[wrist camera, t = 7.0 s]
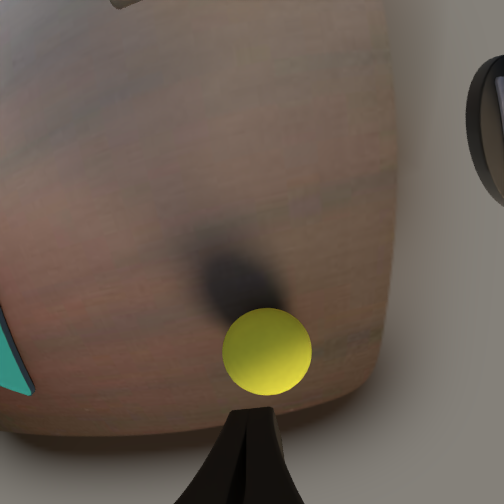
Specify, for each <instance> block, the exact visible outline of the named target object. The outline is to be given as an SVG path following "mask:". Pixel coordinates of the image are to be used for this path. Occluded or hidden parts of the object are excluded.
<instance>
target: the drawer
mask: <svg viewBox="0 0 504 504" xmlns="http://www.w3.org/2000/svg"><path fill="white" fill-rule="evenodd" d="M139 1H142V0H110V2H111V4H112V5H113V6H114V7H115V8H116V9H122V8H124V7H127V6H129V5H131V4H134V3H136V2H139Z"/></svg>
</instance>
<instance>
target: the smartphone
mask: <svg viewBox="0 0 504 504" xmlns="http://www.w3.org/2000/svg"><path fill="white" fill-rule="evenodd" d="M0 386H2V387H4V388H7V389H10V390H13V391H16V392H19V393H22V394H25V395H28V396H32V394H33V393H34V392H35V387H34V385H33V383H32V381H31V379H30V377H29V375H28V373H27V371H26V369H25V367H24V365H23V362H22V360H21V358H20V356H19V353H18V351H17V349H16V347H15V344H14V342H13V339H12V337H11V334H10V332H9V329H8V327H7V324H6V321H5V319H4V316H3V313H2V310H1V308H0Z"/></svg>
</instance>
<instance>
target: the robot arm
mask: <svg viewBox="0 0 504 504" xmlns="http://www.w3.org/2000/svg"><path fill="white" fill-rule="evenodd" d="M495 86H496V91H497V96H498V101H499V107H500V113H501V119H502V126H503V133H504V77H496V79H495ZM174 504H304V502H303V500H302V498H301V496H300V495H299V493H298V491H297V489H296V487H295V485H294V482H293V480H292V478H291V476H290V474H289V471H288V469H287V466H286V464H285V461H284V454H283V446H282V439H281V435H280V432H279V428H278V424H277V420H276V417H275V413H274V409H273V408H271V407H261V408H252V409H242V410H232V411H231V412H230V413H229V415H228V418H227V420H226V422H225V424H224V427H223V429H222V431H221V433H220V435H219V437H218V439H217V441H216V442H215V444H214V446H213V448H212V450H211V451H210V453H209V455H208V457H207V458H206V460H205V462H204V463H203V465H202V467H201V468H200V470H199V471H198V473H197V474H196V475H195V477H194V478H193V480H192V482H191V483H190V484H189V486H188V487H187V488H186V490H185V491H184V492H183V493H182V495H181V496H180V497H179V498H178V500H177V501H176V502H175V503H174Z"/></svg>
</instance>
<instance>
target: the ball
mask: <svg viewBox="0 0 504 504" xmlns="http://www.w3.org/2000/svg"><path fill="white" fill-rule="evenodd" d="M222 354H223V362H224V365H225V368H226V370H227V372H228V374H229V375H230V377H231V378H232V379H233V381H234V382H235V383H236V384H238V385H239V386H240V387H241V388H243V389H245V390H247V391H249V392H251V393H254V394H259V395H275V394H279V393H282V392H284V391H287V390H289V389H291V388H292V387H293V386H295V385H296V384H297V383H298V382H299V381H300V380H301V379H302V378H303V376H304V375H305V373H306V372H307V369H308V367H309V365H310V361H311V354H312V350H311V342H310V338H309V335H308V333H307V331H306V329H305V328H304V326H303V325H302V324H301V323H300V322H299V321H298V320H297V319H296V318H295V317H294V316H292V315H291V314H289V313H287V312H285V311H282V310H279V309H274V308H260V309H256V310H253V311H250V312H248V313H246V314H244V315H242V316H241V317H239V318H238V319H237V320H236V321H235V322H234V323H233V324H232V325H231V327H230V328H229V330H228V332H227V334H226V336H225V339H224V342H223V350H222Z"/></svg>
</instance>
